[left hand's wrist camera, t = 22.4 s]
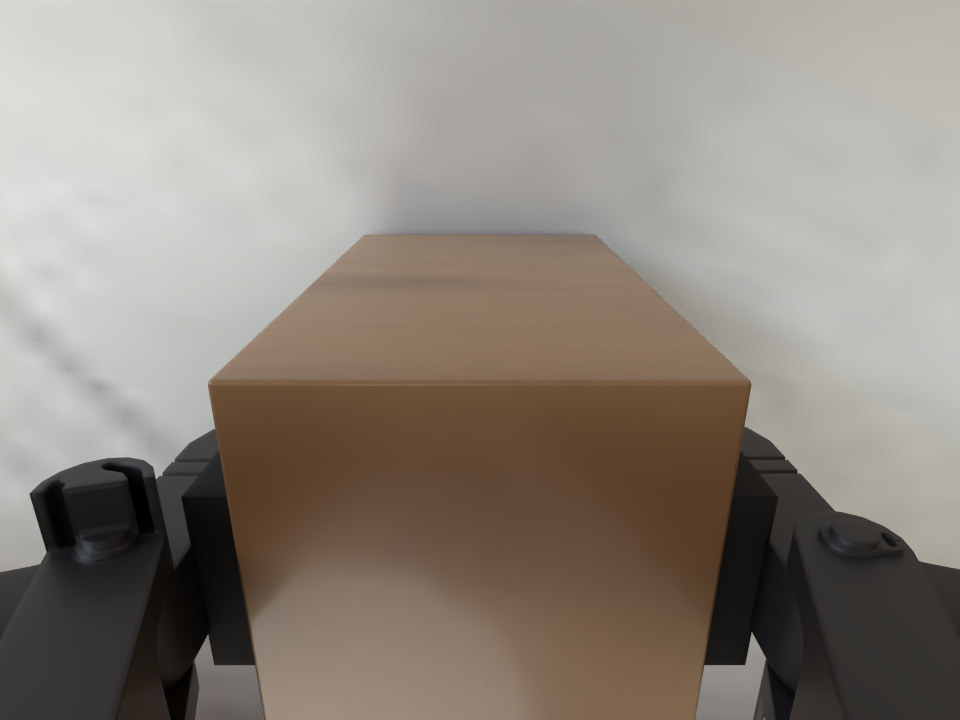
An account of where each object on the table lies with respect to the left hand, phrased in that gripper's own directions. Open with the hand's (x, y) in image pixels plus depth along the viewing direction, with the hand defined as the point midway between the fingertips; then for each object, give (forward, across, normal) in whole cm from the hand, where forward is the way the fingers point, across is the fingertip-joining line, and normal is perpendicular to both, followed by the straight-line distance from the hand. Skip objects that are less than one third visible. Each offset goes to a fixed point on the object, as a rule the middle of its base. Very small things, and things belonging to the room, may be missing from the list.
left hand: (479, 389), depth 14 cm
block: (+3, 0, 0) cm, 3 cm away
